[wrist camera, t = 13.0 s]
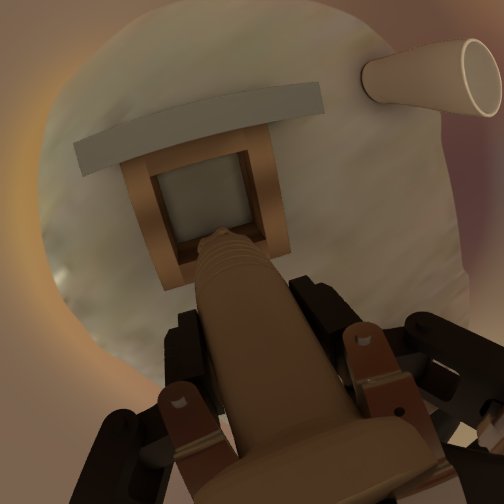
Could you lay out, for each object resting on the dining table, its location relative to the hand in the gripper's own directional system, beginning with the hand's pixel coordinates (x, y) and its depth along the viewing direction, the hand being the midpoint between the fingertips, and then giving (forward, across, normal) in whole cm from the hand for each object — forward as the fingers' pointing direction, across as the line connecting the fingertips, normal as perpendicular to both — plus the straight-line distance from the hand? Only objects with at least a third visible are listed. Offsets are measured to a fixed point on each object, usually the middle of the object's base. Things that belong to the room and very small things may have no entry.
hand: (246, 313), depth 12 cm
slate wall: (+19, -1, -8) cm, 20 cm away
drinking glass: (+19, -22, -9) cm, 31 cm away
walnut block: (+19, 0, 0) cm, 19 cm away
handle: (+6, 0, 0) cm, 6 cm away
